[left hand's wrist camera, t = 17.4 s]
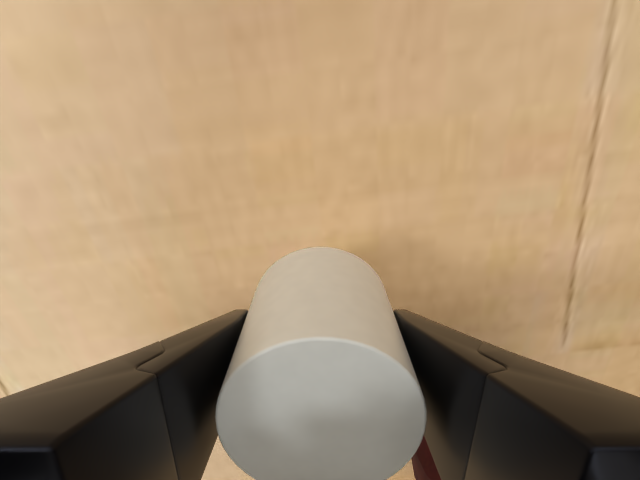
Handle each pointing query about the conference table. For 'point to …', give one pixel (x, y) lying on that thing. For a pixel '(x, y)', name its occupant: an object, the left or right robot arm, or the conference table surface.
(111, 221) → the conference table surface
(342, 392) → the can
